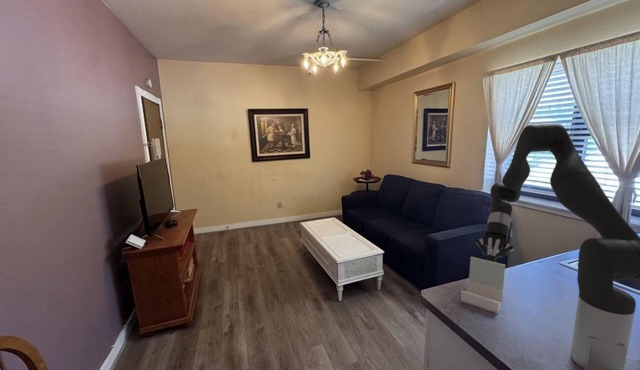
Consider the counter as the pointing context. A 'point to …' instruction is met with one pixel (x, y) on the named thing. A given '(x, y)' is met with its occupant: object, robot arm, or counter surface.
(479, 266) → the cover
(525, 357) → the counter surface
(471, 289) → the cream card holder
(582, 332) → the robot arm
